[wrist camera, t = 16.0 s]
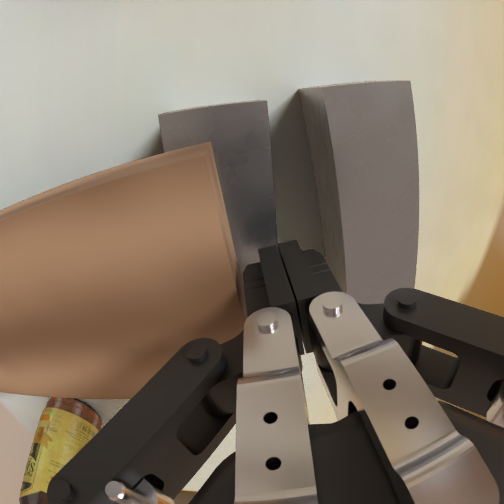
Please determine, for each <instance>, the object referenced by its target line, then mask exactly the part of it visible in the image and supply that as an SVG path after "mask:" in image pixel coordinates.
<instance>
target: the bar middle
mask: <svg viewBox="0 0 504 504" xmlns="http://www.w3.org/2000/svg"><path fill="white" fill-rule="evenodd" d="M158 117H159V124H160V131H161V137H162V144H163V150H164V153H166V152H169V151H173V150H177V149H181V148H185V147H190V146H194V145H198V144H203V143H207V142H211V146H212V150H213V155H214V160H215V164H216V169H217V173H218V178H219V182H220V187H221V191H222V196H223V200H224V204H225V209H226V213H227V218H228V222H229V226H230V231H231V235H232V239H233V244H234V248H235V252H236V257H237V261H238V265H239V270H240V274H241V278H242V282H243V275H242V273H243V272H244V270H245V268H246V266H247V265H249V264H253V263H257V262H260V258H259V253H258V249H260V248H264V247H269V246H273V245H276V246H277V249H278V242H277V226H276V211H275V196H274V182H273V168H272V155H271V142H270V130H269V118H268V107H267V101H265V100H253V101H242V102H233V103H224V104H216V105H208V106H201V107H194V108H188V109H182V110H176V111H171V112H167V113H163V114H160V115H158ZM243 287H244V283H243Z"/></svg>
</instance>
